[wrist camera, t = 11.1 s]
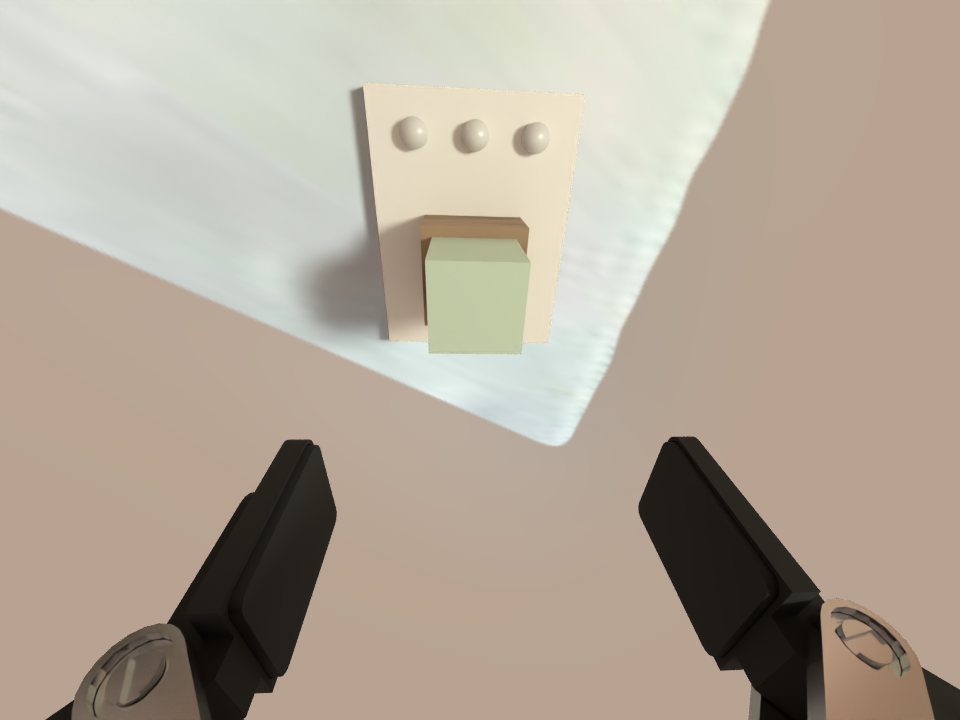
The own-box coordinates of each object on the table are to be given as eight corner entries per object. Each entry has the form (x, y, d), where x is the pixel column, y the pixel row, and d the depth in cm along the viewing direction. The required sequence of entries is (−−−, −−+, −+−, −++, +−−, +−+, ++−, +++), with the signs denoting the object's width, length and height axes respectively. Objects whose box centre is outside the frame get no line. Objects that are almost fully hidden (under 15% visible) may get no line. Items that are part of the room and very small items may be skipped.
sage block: (431, 236, 23) (425, 260, 18) (516, 239, 23) (531, 262, 19) (434, 315, 26) (428, 353, 21) (509, 316, 26) (521, 354, 22)
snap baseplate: (366, 85, 23) (360, 81, 22) (581, 96, 24) (588, 93, 22) (391, 336, 32) (388, 344, 31) (545, 338, 33) (549, 346, 32)
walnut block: (425, 214, 26) (419, 225, 23) (520, 217, 27) (529, 228, 23) (428, 304, 30) (424, 325, 26) (512, 305, 30) (519, 326, 27)
